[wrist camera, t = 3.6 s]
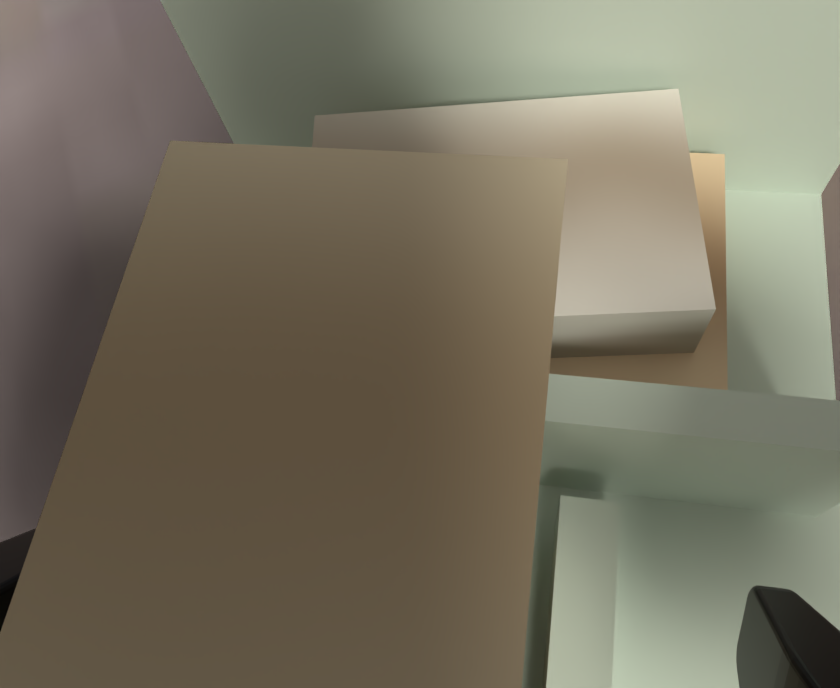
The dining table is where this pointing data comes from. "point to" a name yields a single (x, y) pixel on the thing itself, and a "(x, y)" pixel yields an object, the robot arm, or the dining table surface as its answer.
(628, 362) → the pine offcut
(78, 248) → the dining table surface
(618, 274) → the white offcut
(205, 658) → the birch board
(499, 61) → the offcut rack
